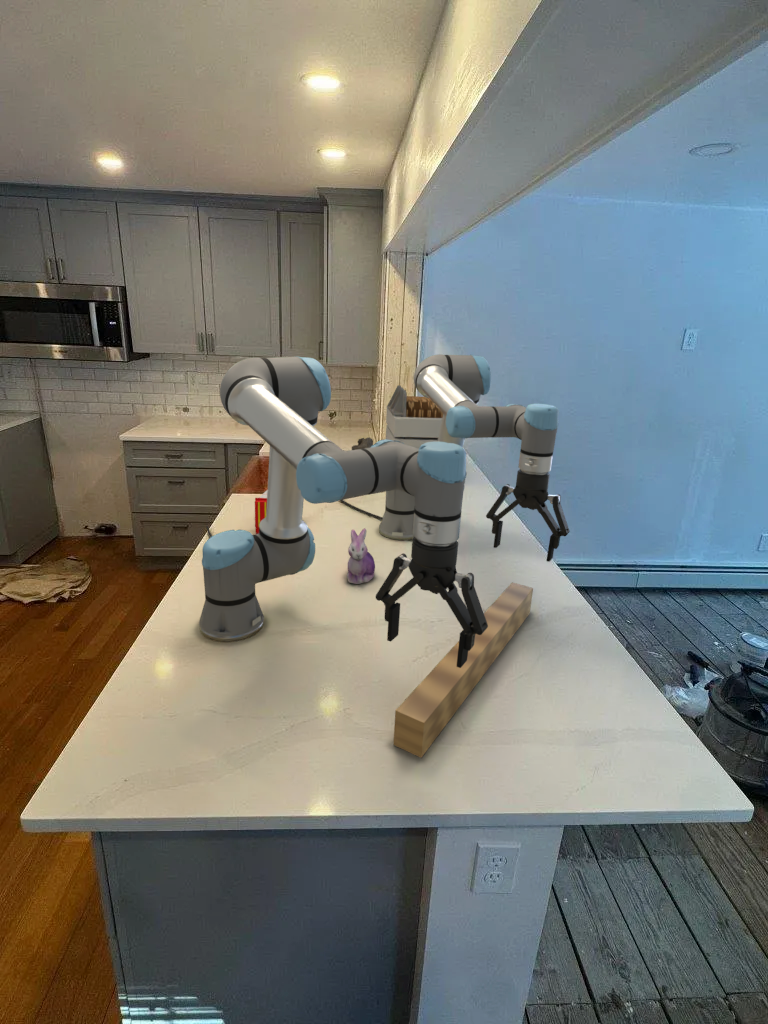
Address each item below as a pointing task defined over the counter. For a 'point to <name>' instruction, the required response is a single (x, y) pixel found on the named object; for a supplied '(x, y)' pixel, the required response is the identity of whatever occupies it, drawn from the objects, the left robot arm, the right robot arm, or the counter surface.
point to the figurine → (359, 559)
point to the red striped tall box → (260, 509)
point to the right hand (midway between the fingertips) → (522, 552)
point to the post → (458, 674)
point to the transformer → (412, 419)
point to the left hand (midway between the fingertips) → (426, 650)
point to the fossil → (363, 444)
